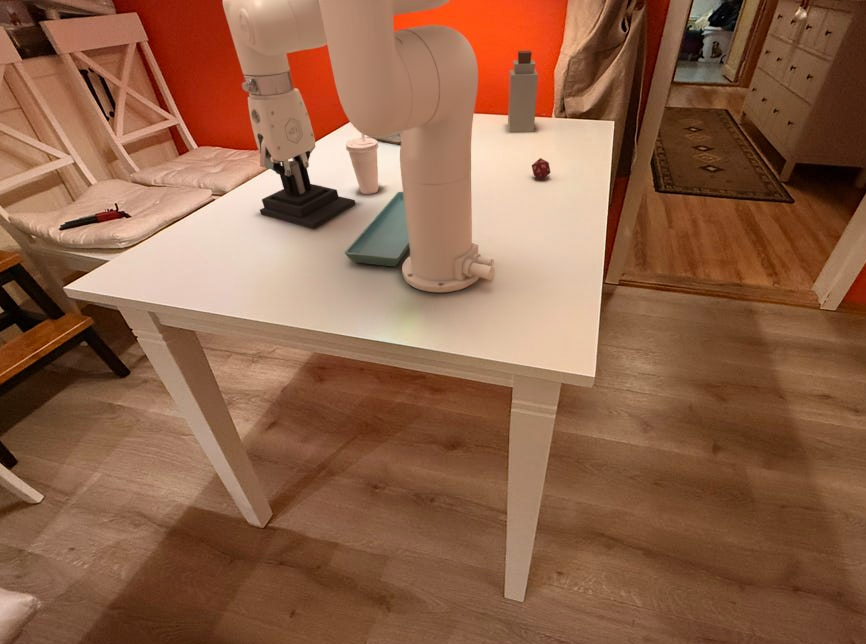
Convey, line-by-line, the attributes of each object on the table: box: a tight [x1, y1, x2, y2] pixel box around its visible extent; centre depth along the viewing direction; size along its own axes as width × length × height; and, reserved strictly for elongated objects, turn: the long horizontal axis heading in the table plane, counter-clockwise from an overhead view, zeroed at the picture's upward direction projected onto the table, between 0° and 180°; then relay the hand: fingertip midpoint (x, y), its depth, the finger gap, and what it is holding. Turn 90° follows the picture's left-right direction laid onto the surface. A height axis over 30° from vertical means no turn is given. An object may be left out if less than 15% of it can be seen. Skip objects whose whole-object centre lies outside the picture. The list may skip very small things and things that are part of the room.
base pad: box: [259, 183, 356, 230], centre depth 91 cm, size 14×12×3 cm
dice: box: [531, 157, 551, 181], centre depth 99 cm, size 4×4×4 cm
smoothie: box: [345, 132, 379, 195], centre depth 93 cm, size 6×6×14 cm
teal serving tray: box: [344, 191, 410, 267], centre depth 82 cm, size 26×9×2 cm, turn 167°
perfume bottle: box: [507, 49, 539, 133], centre depth 122 cm, size 7×7×18 cm
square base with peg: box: [273, 160, 325, 206], centre depth 89 cm, size 7×7×7 cm
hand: (298, 190), depth 90 cm, fingers closed on square base with peg, 2 cm apart
